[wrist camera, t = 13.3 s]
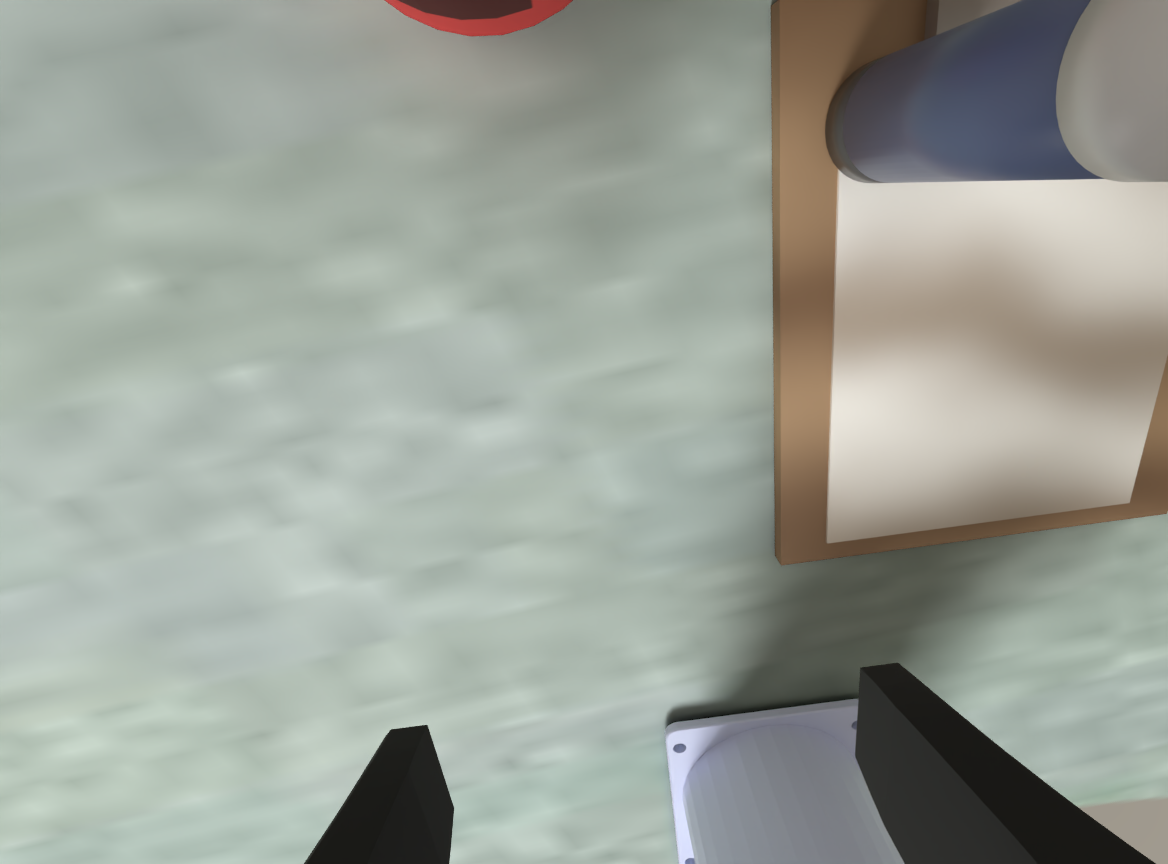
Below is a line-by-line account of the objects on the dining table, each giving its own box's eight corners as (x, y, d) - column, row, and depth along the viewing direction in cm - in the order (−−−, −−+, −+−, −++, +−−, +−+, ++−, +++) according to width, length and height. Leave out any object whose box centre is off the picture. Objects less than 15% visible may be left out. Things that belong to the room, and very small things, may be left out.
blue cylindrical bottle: (935, 174, 15) (1314, 160, 8) (823, 194, 15) (1089, 200, 8) (942, 45, 14) (1397, -126, 6) (822, 66, 14) (1131, -76, 7)
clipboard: (1149, 504, 20) (1181, 521, 19) (775, 554, 20) (786, 574, 19) (1308, -73, 14) (1366, -93, 13) (771, 6, 14) (787, -8, 13)
